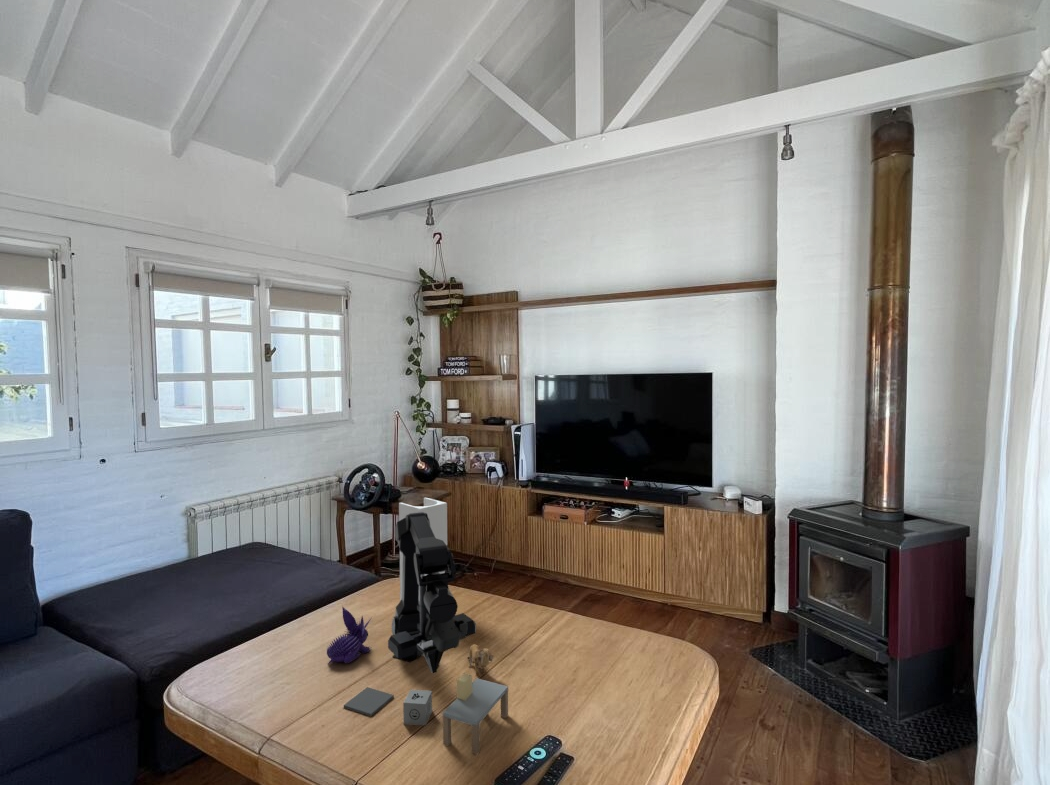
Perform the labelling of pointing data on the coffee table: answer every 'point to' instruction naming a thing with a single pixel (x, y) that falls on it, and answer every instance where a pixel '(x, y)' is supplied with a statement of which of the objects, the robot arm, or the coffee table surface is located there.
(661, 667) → the coffee table surface
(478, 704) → the small grey table
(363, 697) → the mat
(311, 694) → the coffee table surface
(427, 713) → the dice cube
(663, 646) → the coffee table surface
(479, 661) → the lion figurine
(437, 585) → the robot arm
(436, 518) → the white square tower
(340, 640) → the creature
